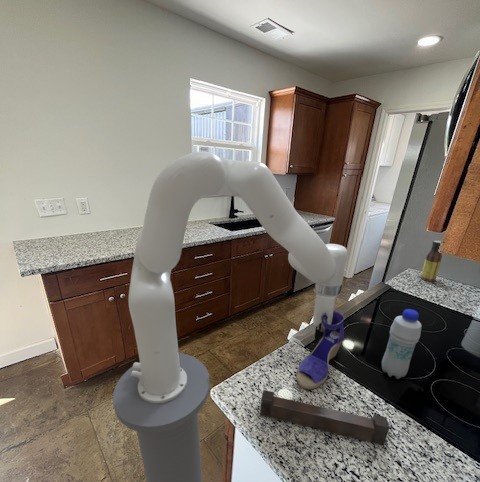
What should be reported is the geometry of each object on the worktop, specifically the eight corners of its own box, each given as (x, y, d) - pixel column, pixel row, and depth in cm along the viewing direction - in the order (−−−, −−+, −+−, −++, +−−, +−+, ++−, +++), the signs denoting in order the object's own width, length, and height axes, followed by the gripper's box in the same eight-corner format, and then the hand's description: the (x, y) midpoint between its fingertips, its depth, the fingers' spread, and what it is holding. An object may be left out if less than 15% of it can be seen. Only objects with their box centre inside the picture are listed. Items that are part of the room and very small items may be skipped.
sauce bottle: (429, 277, 136) (441, 239, 128) (438, 282, 130) (451, 243, 122) (416, 277, 136) (428, 239, 128) (424, 282, 130) (437, 243, 122)
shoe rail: (260, 414, 61) (261, 398, 59) (262, 406, 63) (263, 389, 61) (383, 445, 55) (389, 428, 53) (381, 434, 57) (386, 417, 55)
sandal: (285, 376, 72) (290, 330, 66) (327, 346, 84) (334, 305, 78) (310, 395, 66) (318, 346, 60) (351, 360, 78) (361, 317, 72)
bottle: (409, 372, 74) (430, 310, 66) (401, 385, 69) (423, 321, 62) (384, 360, 78) (401, 301, 70) (375, 371, 74) (392, 309, 66)
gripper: (314, 275, 84) (308, 324, 91) (314, 297, 71) (306, 352, 78) (339, 278, 82) (330, 327, 89) (343, 300, 69) (333, 356, 76)
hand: (319, 338), depth 84 cm, fingers closed
